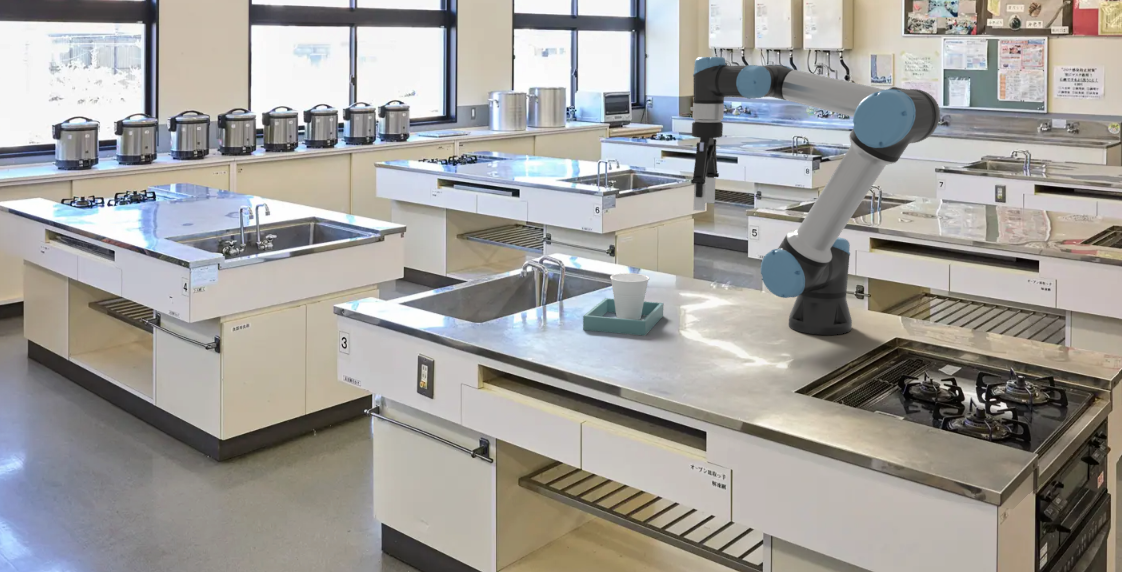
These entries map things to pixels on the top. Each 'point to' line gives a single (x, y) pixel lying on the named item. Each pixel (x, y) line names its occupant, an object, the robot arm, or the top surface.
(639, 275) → the cup
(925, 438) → the top surface
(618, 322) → the walled box
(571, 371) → the top surface
